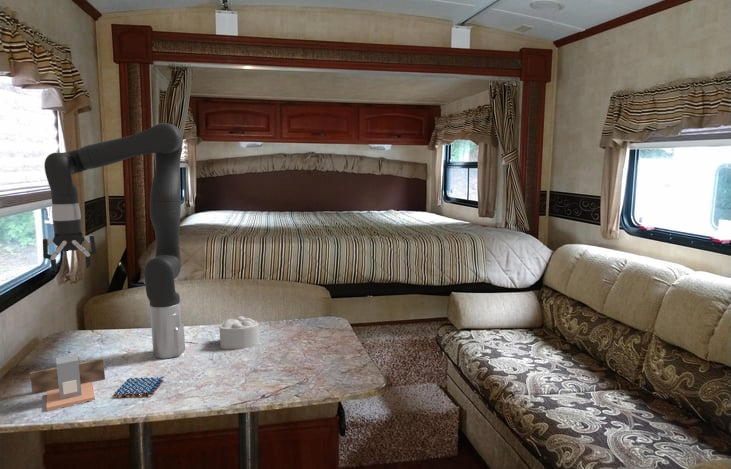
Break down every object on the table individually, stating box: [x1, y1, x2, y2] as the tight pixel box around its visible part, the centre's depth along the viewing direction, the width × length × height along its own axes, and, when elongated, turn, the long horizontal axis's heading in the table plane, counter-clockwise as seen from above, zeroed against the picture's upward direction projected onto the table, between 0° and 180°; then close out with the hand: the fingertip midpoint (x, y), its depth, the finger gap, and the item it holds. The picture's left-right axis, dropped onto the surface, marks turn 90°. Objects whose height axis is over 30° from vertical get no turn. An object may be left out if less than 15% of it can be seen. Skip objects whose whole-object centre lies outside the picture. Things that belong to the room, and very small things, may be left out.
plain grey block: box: [55, 353, 82, 400], centre depth 137 cm, size 5×5×10 cm
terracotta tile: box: [46, 382, 96, 412], centre depth 137 cm, size 11×11×1 cm
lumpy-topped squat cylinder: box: [219, 315, 260, 350], centre depth 176 cm, size 10×13×9 cm
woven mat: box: [113, 376, 165, 399], centre depth 142 cm, size 10×11×2 cm
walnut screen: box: [29, 358, 106, 395], centre depth 144 cm, size 18×1×6 cm, turn 122°
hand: (71, 269), depth 158 cm, fingers open, 8 cm apart
